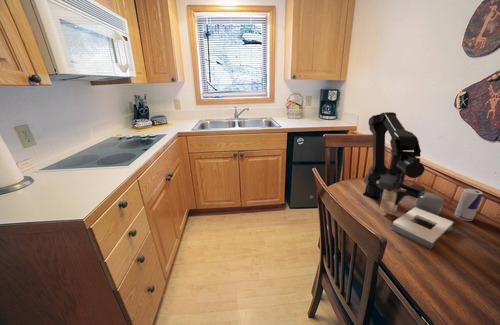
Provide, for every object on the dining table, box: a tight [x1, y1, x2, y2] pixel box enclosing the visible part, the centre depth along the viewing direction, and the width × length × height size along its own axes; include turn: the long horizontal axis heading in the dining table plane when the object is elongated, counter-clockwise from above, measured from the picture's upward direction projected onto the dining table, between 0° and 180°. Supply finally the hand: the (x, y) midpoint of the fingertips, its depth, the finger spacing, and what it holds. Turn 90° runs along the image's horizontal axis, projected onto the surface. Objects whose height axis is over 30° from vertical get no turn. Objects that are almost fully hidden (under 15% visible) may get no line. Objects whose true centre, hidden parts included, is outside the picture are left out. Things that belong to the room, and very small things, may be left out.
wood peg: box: [379, 188, 401, 215], centre depth 85 cm, size 4×4×10 cm
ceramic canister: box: [413, 191, 445, 216], centre depth 87 cm, size 8×8×7 cm
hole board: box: [390, 207, 454, 250], centre depth 77 cm, size 12×18×4 cm, turn 122°
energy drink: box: [454, 187, 484, 222], centre depth 82 cm, size 5×5×12 cm
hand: (389, 202), depth 85 cm, fingers closed on wood peg, 4 cm apart
